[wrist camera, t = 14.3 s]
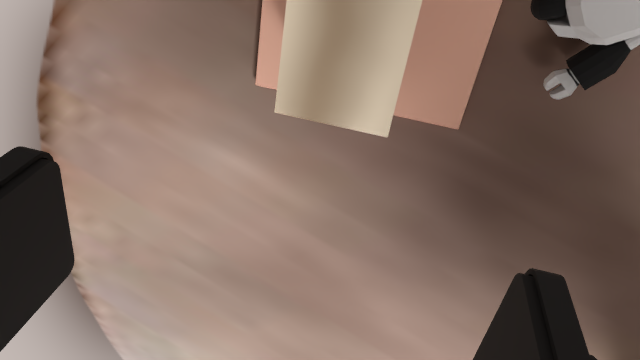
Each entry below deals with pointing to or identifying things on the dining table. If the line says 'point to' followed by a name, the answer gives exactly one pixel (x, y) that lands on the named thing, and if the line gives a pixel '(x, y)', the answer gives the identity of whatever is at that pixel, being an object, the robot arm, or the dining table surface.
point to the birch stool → (345, 61)
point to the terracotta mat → (413, 56)
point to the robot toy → (590, 38)
